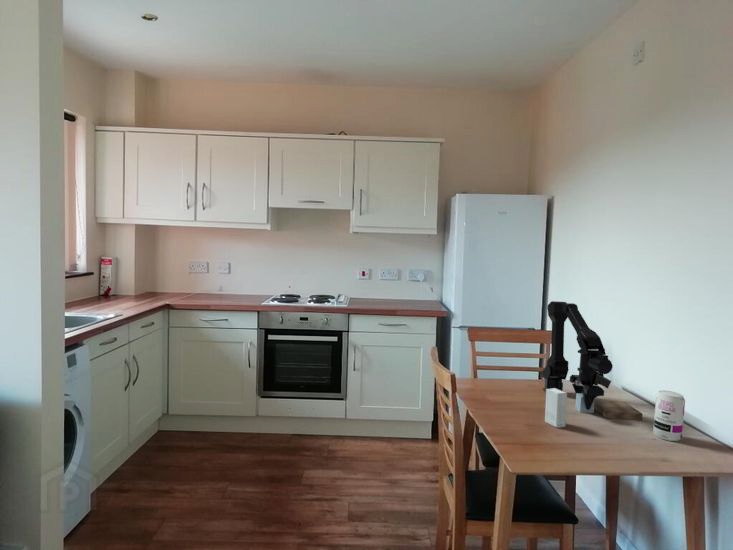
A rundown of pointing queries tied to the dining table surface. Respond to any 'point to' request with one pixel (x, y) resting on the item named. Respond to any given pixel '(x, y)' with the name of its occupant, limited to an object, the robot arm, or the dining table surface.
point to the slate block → (582, 404)
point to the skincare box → (556, 407)
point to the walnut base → (617, 410)
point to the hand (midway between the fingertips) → (584, 406)
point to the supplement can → (669, 415)
